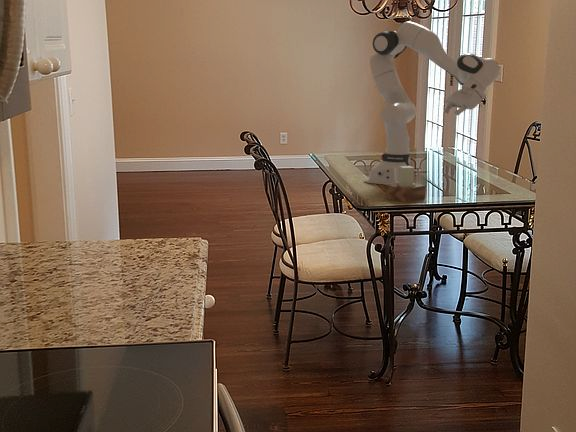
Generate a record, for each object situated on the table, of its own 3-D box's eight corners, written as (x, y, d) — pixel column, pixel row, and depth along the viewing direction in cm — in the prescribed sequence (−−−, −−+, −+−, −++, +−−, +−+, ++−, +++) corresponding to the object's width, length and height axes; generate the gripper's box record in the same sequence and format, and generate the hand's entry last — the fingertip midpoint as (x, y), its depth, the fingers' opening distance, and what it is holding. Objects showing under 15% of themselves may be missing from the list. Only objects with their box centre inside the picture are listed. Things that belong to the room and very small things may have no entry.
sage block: (400, 186, 299) (401, 168, 297) (396, 184, 305) (397, 165, 304) (415, 186, 300) (416, 167, 298) (410, 183, 306) (411, 165, 304)
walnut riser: (385, 198, 305) (385, 184, 304) (403, 195, 312) (404, 181, 311) (406, 203, 296) (407, 188, 295) (424, 199, 304) (425, 185, 302)
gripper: (455, 84, 316) (434, 106, 316) (480, 86, 297) (458, 110, 297) (463, 94, 319) (443, 116, 318) (488, 96, 300) (467, 120, 299)
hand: (450, 113), depth 307 cm, fingers open, 8 cm apart
